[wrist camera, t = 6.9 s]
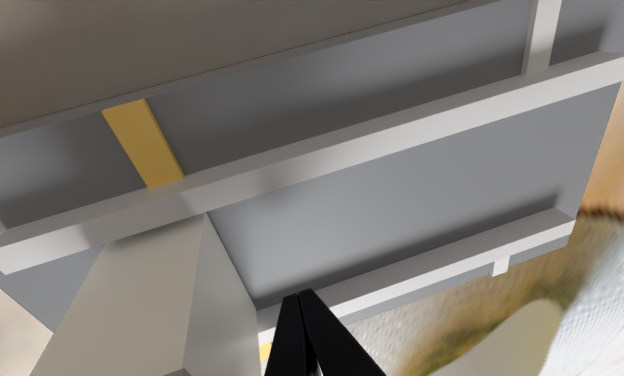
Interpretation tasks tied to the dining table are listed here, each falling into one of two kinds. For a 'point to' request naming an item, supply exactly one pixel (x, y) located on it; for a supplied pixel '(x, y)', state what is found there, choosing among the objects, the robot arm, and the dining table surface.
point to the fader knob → (158, 310)
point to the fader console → (332, 160)
